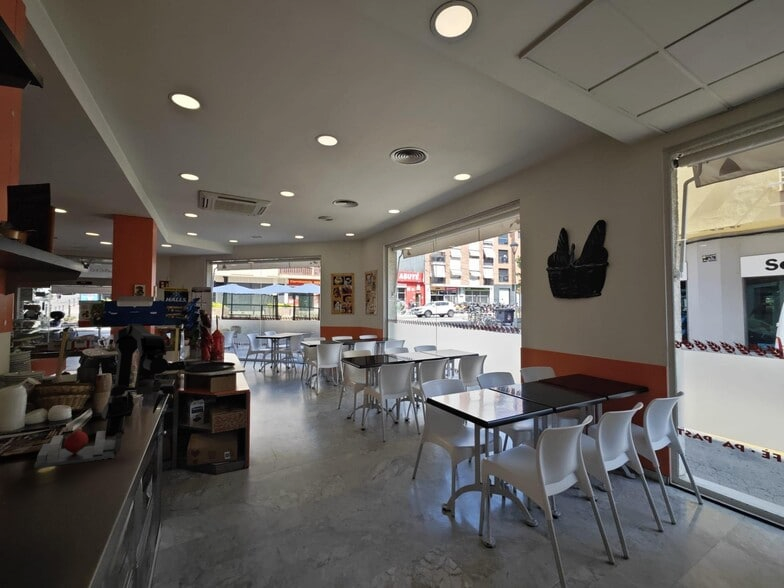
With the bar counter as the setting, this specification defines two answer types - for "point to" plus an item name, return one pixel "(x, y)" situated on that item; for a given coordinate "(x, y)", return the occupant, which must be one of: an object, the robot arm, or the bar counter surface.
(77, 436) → the onion
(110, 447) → the sliding jaw
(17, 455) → the bar counter surface
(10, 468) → the bar counter surface
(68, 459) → the vise base
